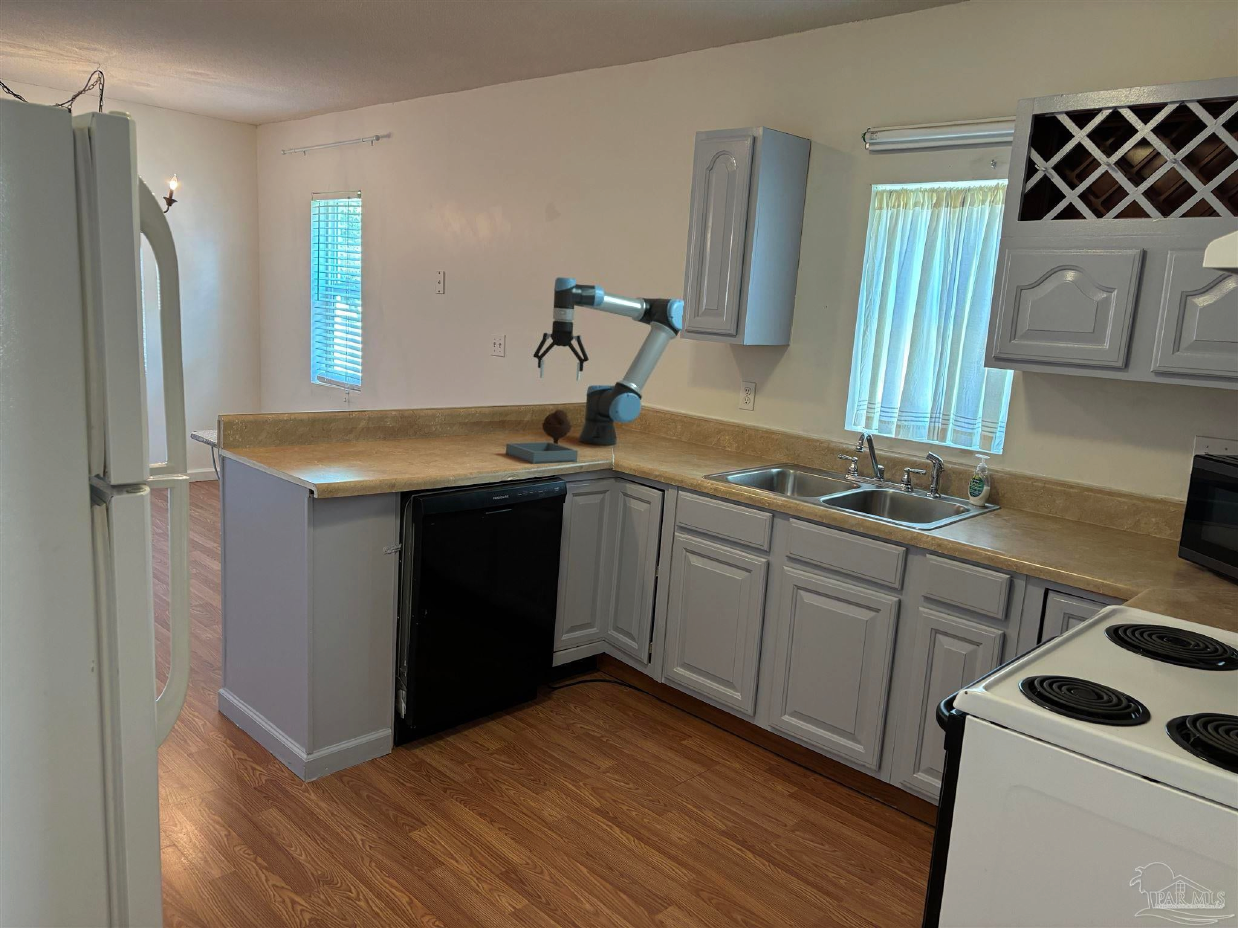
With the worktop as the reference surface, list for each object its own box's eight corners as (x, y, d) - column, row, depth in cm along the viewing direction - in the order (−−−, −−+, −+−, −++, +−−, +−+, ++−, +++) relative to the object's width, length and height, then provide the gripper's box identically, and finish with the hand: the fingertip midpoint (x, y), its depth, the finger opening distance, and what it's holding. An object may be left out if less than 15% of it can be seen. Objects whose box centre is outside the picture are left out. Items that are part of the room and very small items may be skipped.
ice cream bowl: (571, 448, 334) (574, 409, 332) (566, 452, 323) (569, 412, 321) (544, 445, 335) (546, 406, 332) (538, 450, 324) (541, 409, 322)
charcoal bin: (548, 452, 320) (549, 441, 320) (576, 461, 306) (577, 450, 306) (505, 454, 309) (506, 443, 308) (533, 464, 295) (533, 452, 295)
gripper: (527, 318, 318) (524, 377, 322) (595, 323, 316) (591, 382, 319) (531, 318, 326) (528, 375, 329) (598, 323, 323) (594, 380, 327)
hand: (559, 379), depth 324 cm, fingers open, 13 cm apart
